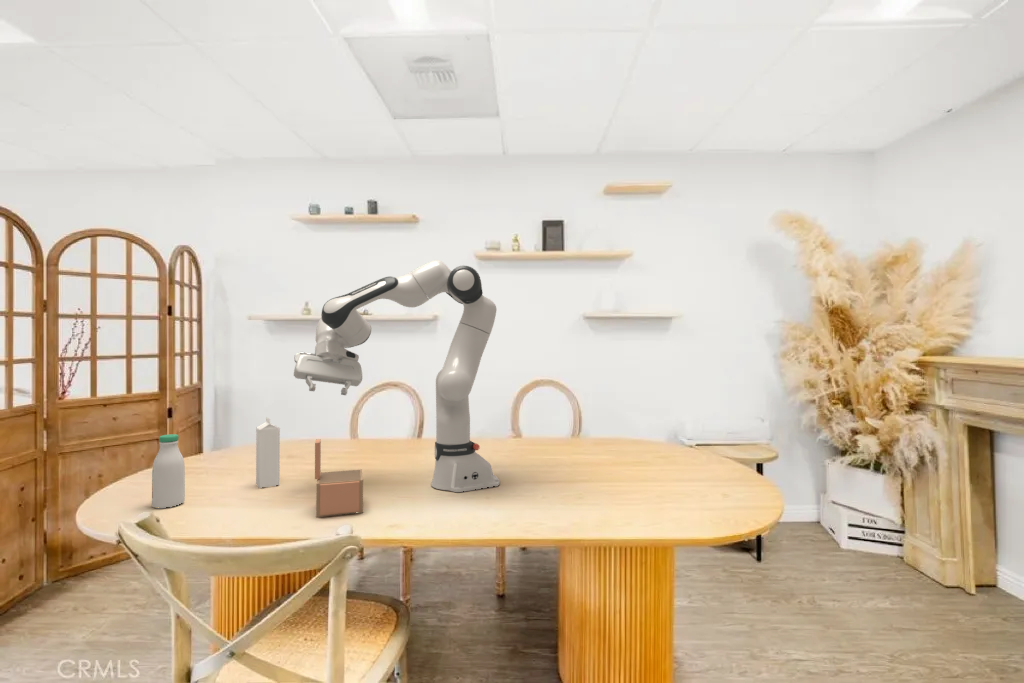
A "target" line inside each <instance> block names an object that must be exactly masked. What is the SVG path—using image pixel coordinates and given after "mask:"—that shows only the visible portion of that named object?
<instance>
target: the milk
mask: <svg viewBox="0 0 1024 683" xmlns="http://www.w3.org/2000/svg"><path fill="white" fill-rule="evenodd" d="M255 430H256V431H255V433H256V436H255V438H256V439H255V440H256V442H255V444H256V446H255V448H256V449H255V451H256V452H255V454H256V455H255V457H256V458H255V460H256V461H255V470H256V471H255V477H256V479H255V485H256V484H257V485H258V486H257V485H256V486H257V488H261V489H263V488H262V487H267V488H270V487H269V486H273V487H277V486H276V485H279V486H280V479H281V478H280V476H281V475H280V469H281V468H280V467H281V466H280V462H281V461H280V458H281V457H280V456H281V455H280V450H281V449H280V448H281V445H280V444H281V443H280V442H281V441H280V438H281V436H280V435H281V434H280V433H281V428H280V427H279V426H277V425H275V424H273V423H271V419H270V418H269V417H267V416H266V417H265V421H264V422H263V423H261V424H259V425H258V426H256V429H255Z"/></svg>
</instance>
